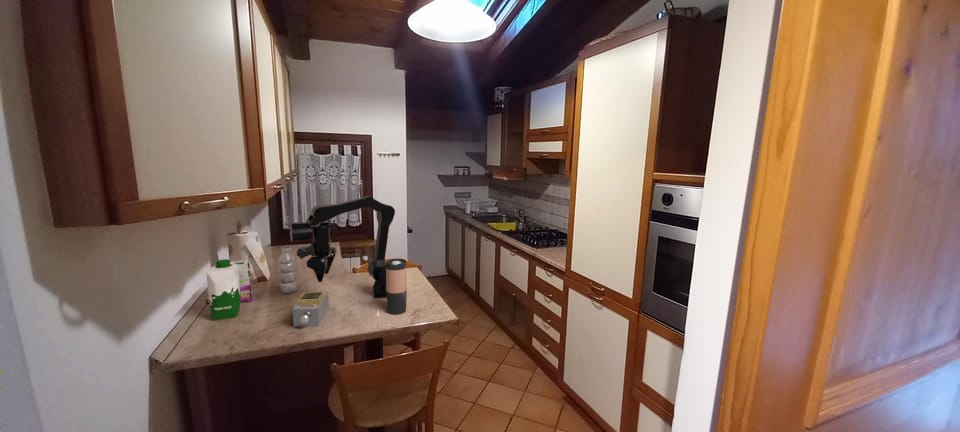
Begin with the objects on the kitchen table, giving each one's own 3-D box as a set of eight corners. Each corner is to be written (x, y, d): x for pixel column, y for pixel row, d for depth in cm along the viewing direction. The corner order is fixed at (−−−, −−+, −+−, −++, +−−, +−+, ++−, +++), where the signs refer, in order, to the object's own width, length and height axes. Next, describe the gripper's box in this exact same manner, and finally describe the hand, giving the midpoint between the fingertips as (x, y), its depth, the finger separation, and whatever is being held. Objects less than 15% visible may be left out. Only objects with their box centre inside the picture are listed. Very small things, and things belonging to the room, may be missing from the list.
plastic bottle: (301, 289, 149) (298, 245, 146) (291, 295, 142) (288, 249, 139) (287, 288, 150) (284, 245, 147) (276, 294, 143) (273, 248, 140)
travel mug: (400, 305, 136) (399, 257, 133) (410, 311, 131) (410, 261, 128) (383, 310, 131) (382, 260, 128) (393, 317, 125) (392, 265, 122)
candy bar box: (252, 296, 140) (249, 258, 138) (252, 300, 136) (249, 261, 134) (219, 301, 134) (215, 262, 132) (217, 306, 130) (213, 265, 128)
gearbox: (328, 308, 131) (328, 288, 129) (316, 329, 115) (315, 305, 113) (306, 310, 129) (305, 289, 128) (291, 330, 113) (289, 307, 112)
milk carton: (243, 308, 129) (238, 258, 126) (239, 318, 121) (234, 264, 118) (214, 312, 125) (209, 260, 122) (208, 322, 117) (202, 267, 114)
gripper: (306, 233, 136) (308, 271, 138) (289, 244, 117) (292, 287, 120) (336, 233, 138) (337, 270, 140) (323, 244, 120) (325, 286, 122)
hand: (323, 277), depth 130 cm, fingers open, 9 cm apart
